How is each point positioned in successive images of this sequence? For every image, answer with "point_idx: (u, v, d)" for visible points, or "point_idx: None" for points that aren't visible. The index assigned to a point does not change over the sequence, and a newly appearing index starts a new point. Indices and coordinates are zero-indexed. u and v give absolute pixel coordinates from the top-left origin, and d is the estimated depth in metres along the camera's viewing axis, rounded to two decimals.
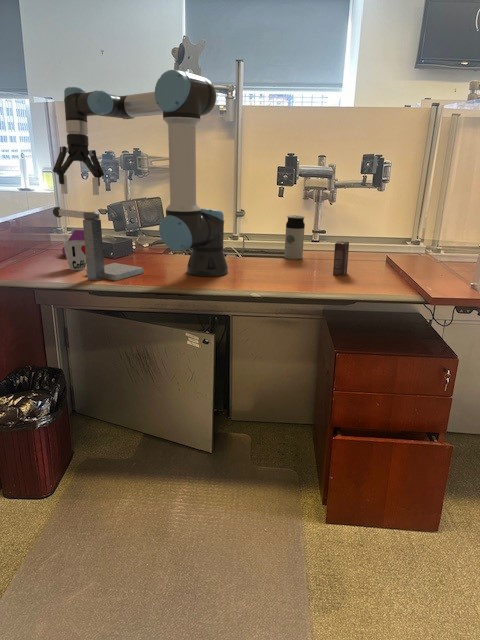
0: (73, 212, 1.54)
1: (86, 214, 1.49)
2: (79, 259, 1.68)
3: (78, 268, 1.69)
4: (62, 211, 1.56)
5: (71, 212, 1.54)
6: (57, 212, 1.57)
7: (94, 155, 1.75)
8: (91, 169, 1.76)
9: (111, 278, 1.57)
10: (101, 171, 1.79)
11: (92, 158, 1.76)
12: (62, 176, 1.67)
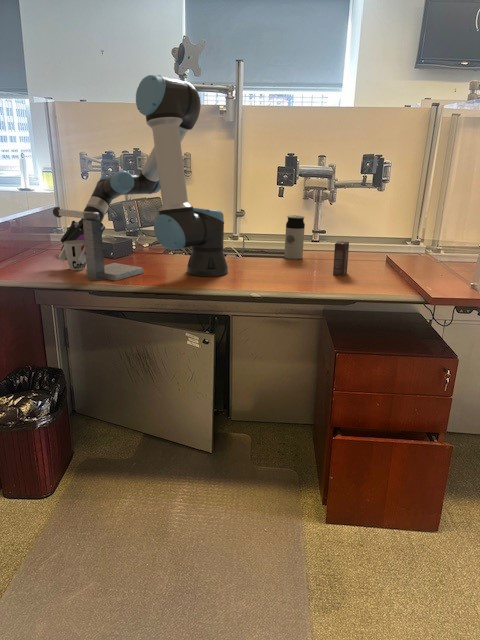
0: (73, 212, 1.54)
1: (86, 214, 1.49)
2: None
3: (78, 268, 1.69)
4: (62, 211, 1.56)
5: (71, 212, 1.54)
6: (57, 212, 1.57)
7: None
8: None
9: (111, 278, 1.57)
10: None
11: None
12: None
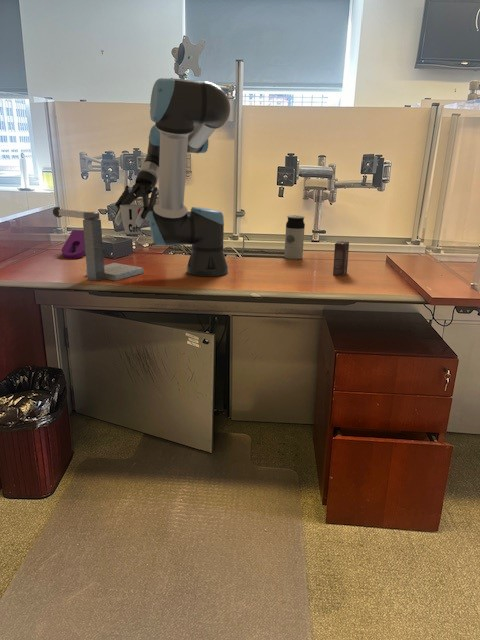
0: (73, 212, 1.54)
1: (86, 214, 1.49)
2: None
3: (133, 232, 1.70)
4: (62, 211, 1.56)
5: (71, 212, 1.54)
6: (57, 212, 1.57)
7: (153, 190, 1.72)
8: None
9: (111, 278, 1.57)
10: (150, 203, 1.69)
11: None
12: (119, 209, 1.72)
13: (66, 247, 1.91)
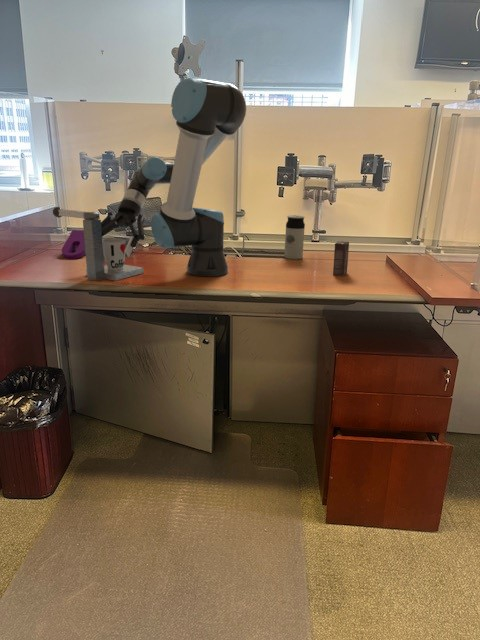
0: (73, 212, 1.54)
1: (86, 214, 1.49)
2: (118, 258, 1.61)
3: (116, 268, 1.63)
4: (62, 211, 1.56)
5: (71, 212, 1.54)
6: (57, 212, 1.57)
7: (138, 218, 1.64)
8: (131, 231, 1.63)
9: (111, 278, 1.57)
10: (139, 231, 1.61)
11: None
12: None
13: (66, 247, 1.91)
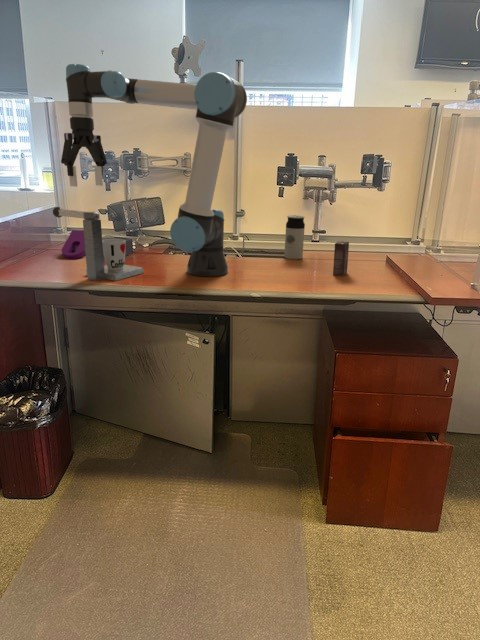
0: (73, 212, 1.54)
1: (86, 214, 1.49)
2: (118, 258, 1.61)
3: (116, 268, 1.63)
4: (62, 211, 1.56)
5: (71, 212, 1.54)
6: (57, 212, 1.57)
7: (99, 141, 1.61)
8: (94, 156, 1.61)
9: (111, 278, 1.57)
10: (104, 159, 1.64)
11: (96, 144, 1.61)
12: (71, 167, 1.53)
13: (66, 247, 1.91)
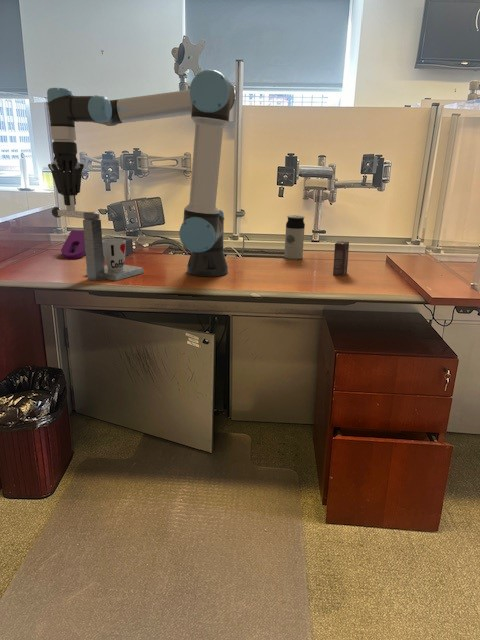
0: (73, 212, 1.53)
1: (86, 214, 1.49)
2: (118, 258, 1.61)
3: (116, 268, 1.63)
4: (61, 211, 1.56)
5: (71, 212, 1.54)
6: (56, 212, 1.57)
7: (80, 168, 1.56)
8: (70, 183, 1.55)
9: (111, 278, 1.57)
10: (78, 187, 1.57)
11: (76, 171, 1.56)
12: (68, 197, 1.55)
13: (65, 248, 1.91)
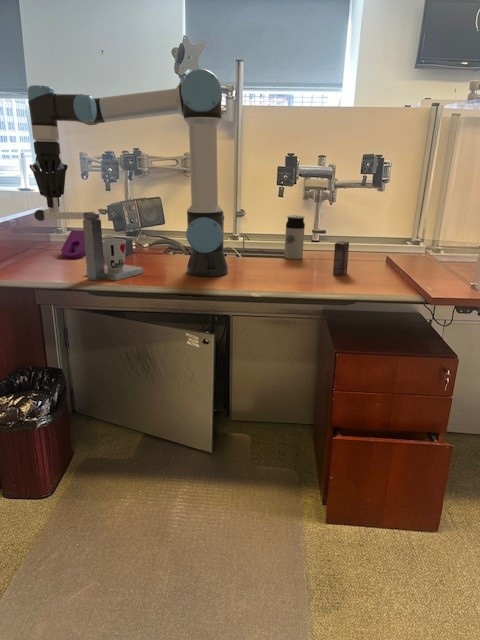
0: (67, 214, 1.49)
1: (91, 214, 1.49)
2: (118, 258, 1.61)
3: (116, 268, 1.63)
4: (50, 213, 1.48)
5: (64, 214, 1.49)
6: (43, 215, 1.48)
7: (64, 169, 1.50)
8: (53, 184, 1.49)
9: (111, 278, 1.57)
10: (62, 189, 1.51)
11: (60, 171, 1.51)
12: (51, 199, 1.49)
13: (65, 248, 1.91)
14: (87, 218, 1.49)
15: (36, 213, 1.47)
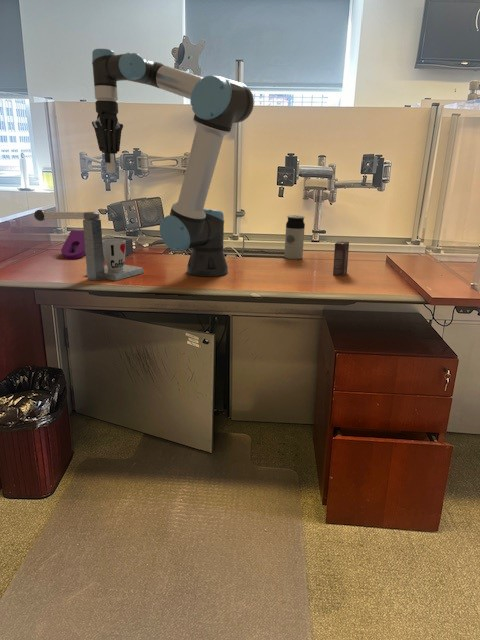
0: (67, 214, 1.49)
1: (91, 214, 1.49)
2: (118, 258, 1.61)
3: (116, 268, 1.63)
4: (50, 213, 1.48)
5: (64, 214, 1.49)
6: (43, 215, 1.48)
7: (120, 128, 1.65)
8: (111, 141, 1.64)
9: (111, 278, 1.57)
10: (118, 146, 1.66)
11: (116, 130, 1.66)
12: (108, 155, 1.64)
13: (65, 248, 1.90)
14: (87, 218, 1.49)
15: (36, 213, 1.47)
